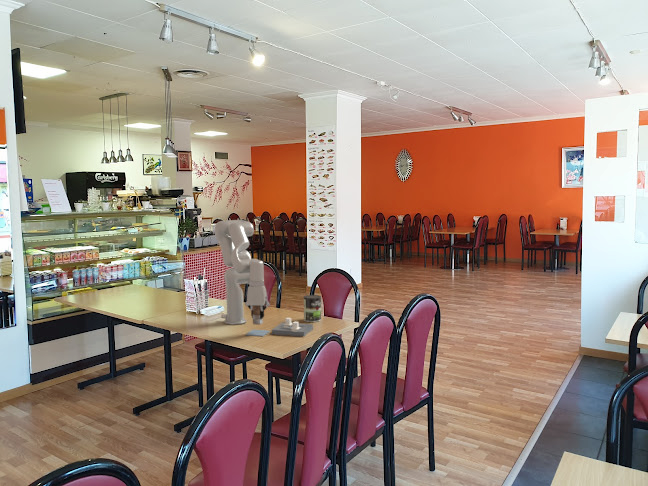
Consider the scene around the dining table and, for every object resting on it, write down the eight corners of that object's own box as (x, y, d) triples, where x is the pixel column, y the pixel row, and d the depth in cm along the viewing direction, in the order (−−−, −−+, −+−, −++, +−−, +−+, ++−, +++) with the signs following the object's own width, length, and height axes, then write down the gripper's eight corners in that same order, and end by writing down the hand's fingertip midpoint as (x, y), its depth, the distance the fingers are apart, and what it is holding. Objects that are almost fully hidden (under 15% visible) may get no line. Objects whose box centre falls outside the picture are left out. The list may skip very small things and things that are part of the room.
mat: (245, 335, 268) (245, 334, 268) (252, 330, 278) (252, 329, 278) (262, 336, 265) (262, 335, 265) (269, 331, 275) (269, 330, 275)
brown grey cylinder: (252, 324, 269) (252, 305, 268) (255, 322, 273) (255, 304, 272) (259, 324, 268) (259, 306, 267) (262, 322, 272) (262, 304, 271)
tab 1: (283, 325, 277) (283, 319, 276) (286, 323, 281) (286, 317, 281) (290, 326, 276) (290, 319, 275) (293, 324, 280) (293, 317, 279)
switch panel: (271, 334, 269) (271, 329, 269) (282, 326, 285) (282, 322, 285) (304, 336, 265) (304, 331, 264) (312, 328, 280) (312, 324, 280)
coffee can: (324, 320, 299) (324, 296, 297) (310, 323, 293) (310, 299, 291) (314, 317, 307) (314, 294, 306) (300, 319, 301) (300, 296, 300)
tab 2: (290, 329, 268) (290, 323, 268) (293, 327, 272) (293, 321, 272) (298, 330, 267) (297, 323, 267) (300, 328, 271) (300, 321, 271)
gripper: (239, 284, 268) (240, 318, 269) (269, 285, 263) (269, 320, 265) (245, 282, 275) (246, 315, 276) (274, 283, 270) (275, 317, 272)
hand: (257, 317), depth 270 cm, fingers closed on brown grey cylinder, 4 cm apart
